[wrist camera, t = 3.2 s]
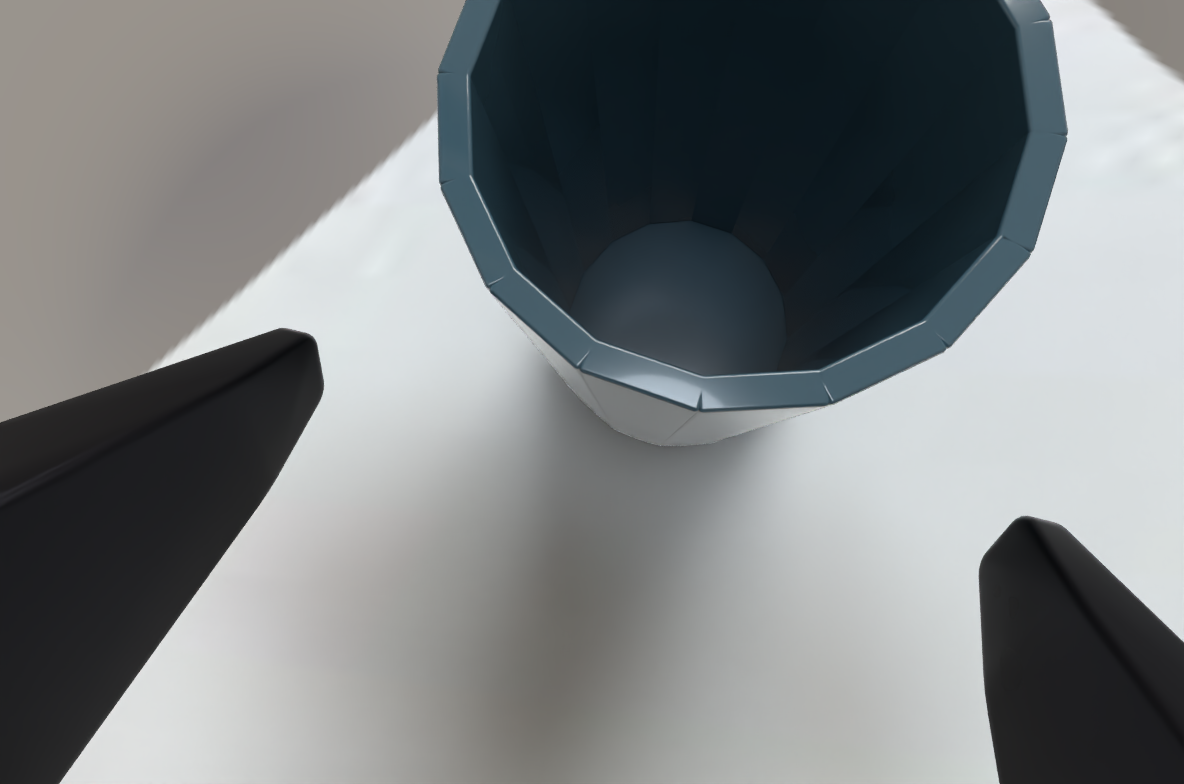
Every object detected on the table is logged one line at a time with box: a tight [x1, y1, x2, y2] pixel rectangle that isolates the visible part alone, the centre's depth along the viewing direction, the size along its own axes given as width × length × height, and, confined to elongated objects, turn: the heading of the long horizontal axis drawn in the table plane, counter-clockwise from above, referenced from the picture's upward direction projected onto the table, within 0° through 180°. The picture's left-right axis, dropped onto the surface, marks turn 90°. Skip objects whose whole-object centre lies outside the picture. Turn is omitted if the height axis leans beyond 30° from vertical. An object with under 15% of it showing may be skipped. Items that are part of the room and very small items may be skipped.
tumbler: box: [437, 0, 1068, 446], centre depth 13 cm, size 7×7×12 cm
